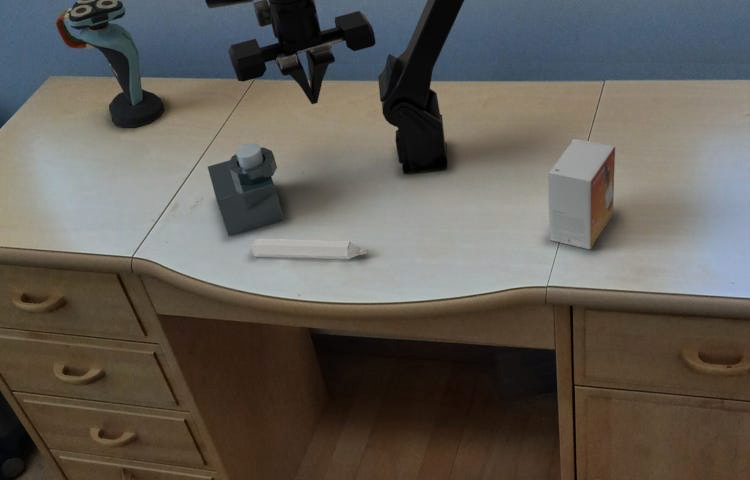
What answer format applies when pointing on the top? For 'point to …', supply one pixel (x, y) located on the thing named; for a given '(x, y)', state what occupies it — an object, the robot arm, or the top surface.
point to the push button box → (246, 194)
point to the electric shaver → (113, 58)
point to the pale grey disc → (249, 156)
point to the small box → (581, 193)
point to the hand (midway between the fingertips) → (313, 102)
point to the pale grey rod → (306, 249)
